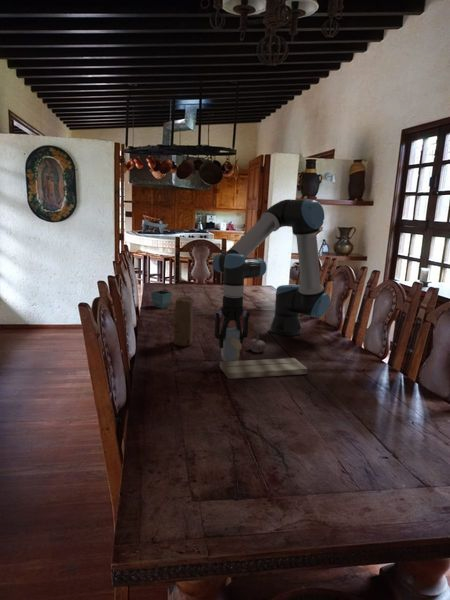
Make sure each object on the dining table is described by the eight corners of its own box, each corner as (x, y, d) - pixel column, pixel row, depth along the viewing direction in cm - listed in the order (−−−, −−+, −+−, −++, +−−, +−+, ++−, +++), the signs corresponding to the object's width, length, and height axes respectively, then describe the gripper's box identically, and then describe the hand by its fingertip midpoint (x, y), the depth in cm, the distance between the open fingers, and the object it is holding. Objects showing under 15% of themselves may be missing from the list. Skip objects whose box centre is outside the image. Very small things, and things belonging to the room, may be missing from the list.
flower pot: (172, 307, 266) (172, 292, 264) (162, 309, 258) (162, 294, 256) (160, 305, 270) (160, 290, 268) (150, 307, 263) (150, 292, 261)
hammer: (234, 357, 177) (235, 327, 174) (244, 369, 164) (246, 337, 162) (221, 358, 175) (223, 328, 173) (231, 369, 163) (232, 337, 161)
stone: (189, 347, 191) (191, 301, 187) (172, 346, 191) (173, 300, 187) (194, 340, 201) (195, 296, 197) (177, 339, 202) (178, 295, 198)
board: (293, 362, 177) (294, 357, 177) (307, 373, 166) (307, 368, 165) (219, 366, 169) (219, 361, 169) (228, 378, 158) (228, 372, 157)
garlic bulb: (257, 347, 196) (258, 329, 194) (270, 351, 191) (271, 332, 189) (245, 350, 191) (246, 331, 189) (258, 354, 186) (259, 335, 184)
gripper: (252, 293, 175) (249, 351, 179) (207, 294, 170) (204, 353, 174) (259, 297, 168) (255, 357, 172) (211, 298, 163) (209, 359, 167)
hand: (230, 355), depth 173 cm, fingers closed on hammer, 5 cm apart
